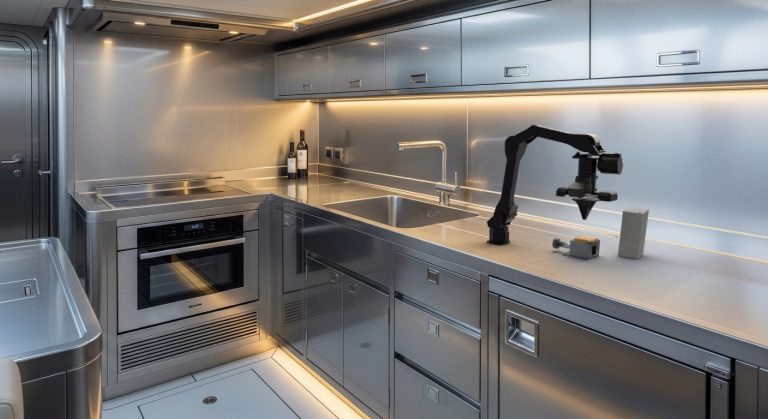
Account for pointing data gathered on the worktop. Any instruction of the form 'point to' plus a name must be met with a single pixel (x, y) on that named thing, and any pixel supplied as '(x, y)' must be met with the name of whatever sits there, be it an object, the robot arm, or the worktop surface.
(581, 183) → the robot arm
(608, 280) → the worktop surface
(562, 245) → the pin
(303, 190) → the worktop surface
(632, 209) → the skincare box
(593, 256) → the bracket
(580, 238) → the plate
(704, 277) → the worktop surface
